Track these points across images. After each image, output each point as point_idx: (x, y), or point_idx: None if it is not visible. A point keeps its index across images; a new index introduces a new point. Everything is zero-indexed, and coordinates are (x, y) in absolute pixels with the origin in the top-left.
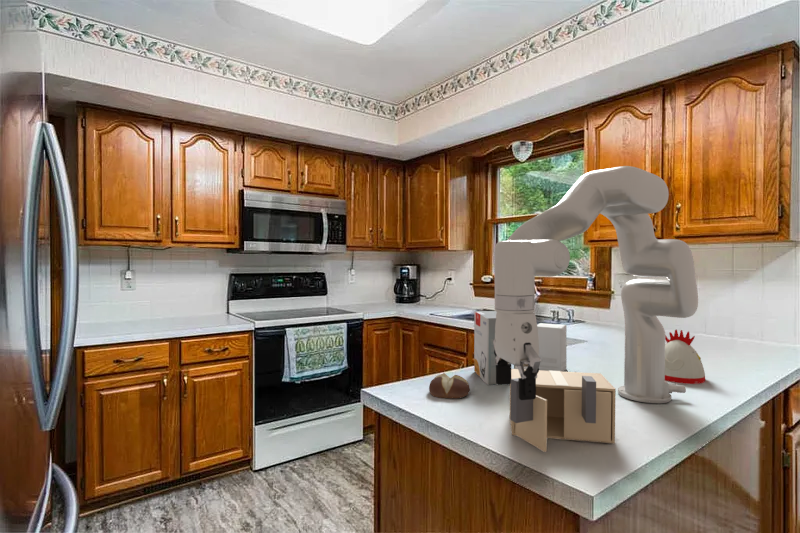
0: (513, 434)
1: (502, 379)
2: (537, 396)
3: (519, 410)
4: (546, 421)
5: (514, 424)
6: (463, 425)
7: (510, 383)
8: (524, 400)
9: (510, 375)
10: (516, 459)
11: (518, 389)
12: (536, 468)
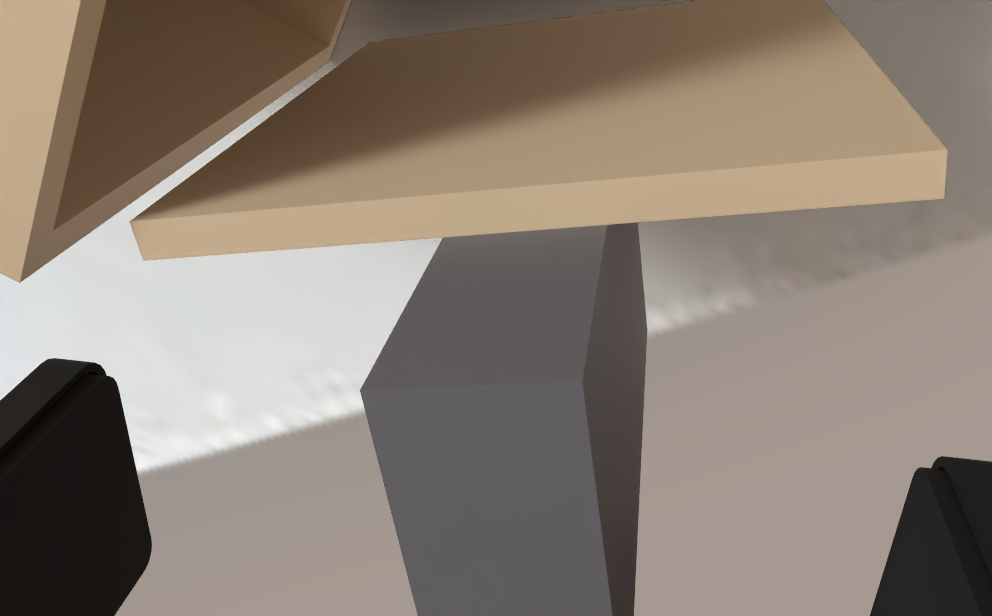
0: (330, 50)
1: (99, 549)
2: (697, 197)
3: (639, 363)
4: (866, 59)
5: (299, 66)
6: (92, 341)
7: (101, 367)
8: (627, 358)
9: (33, 470)
10: (777, 278)
11: (631, 580)
12: (982, 219)
